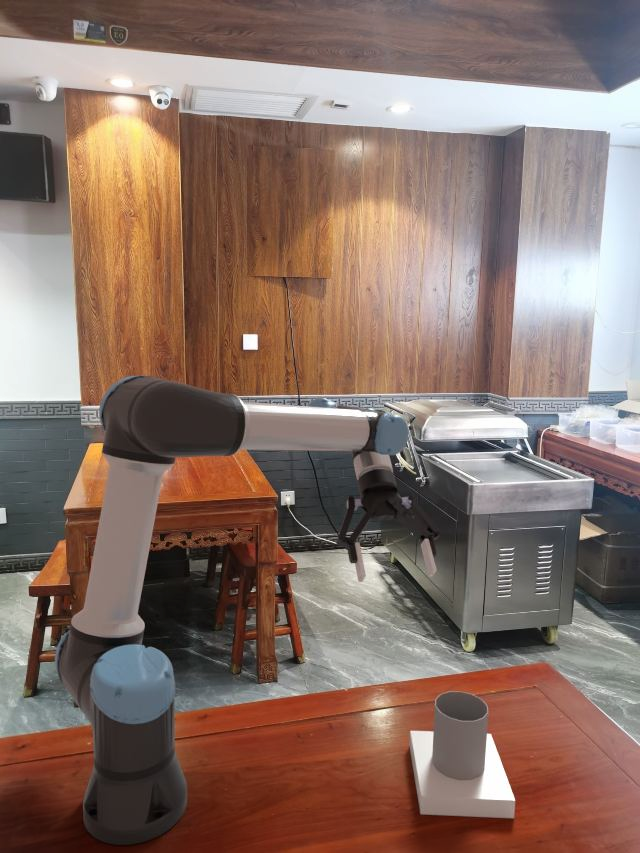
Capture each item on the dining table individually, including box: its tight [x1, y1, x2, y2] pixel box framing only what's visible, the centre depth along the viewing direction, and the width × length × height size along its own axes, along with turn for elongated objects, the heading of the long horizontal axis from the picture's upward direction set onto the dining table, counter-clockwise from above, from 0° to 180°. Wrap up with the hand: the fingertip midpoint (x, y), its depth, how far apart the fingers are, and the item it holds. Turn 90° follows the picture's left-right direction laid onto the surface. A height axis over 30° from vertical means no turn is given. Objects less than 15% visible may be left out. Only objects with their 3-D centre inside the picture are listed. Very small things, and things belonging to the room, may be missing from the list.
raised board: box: [409, 730, 516, 819], centre depth 105 cm, size 14×16×3 cm
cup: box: [432, 690, 489, 780], centre depth 104 cm, size 8×8×10 cm
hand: (397, 576), depth 118 cm, fingers open, 13 cm apart
